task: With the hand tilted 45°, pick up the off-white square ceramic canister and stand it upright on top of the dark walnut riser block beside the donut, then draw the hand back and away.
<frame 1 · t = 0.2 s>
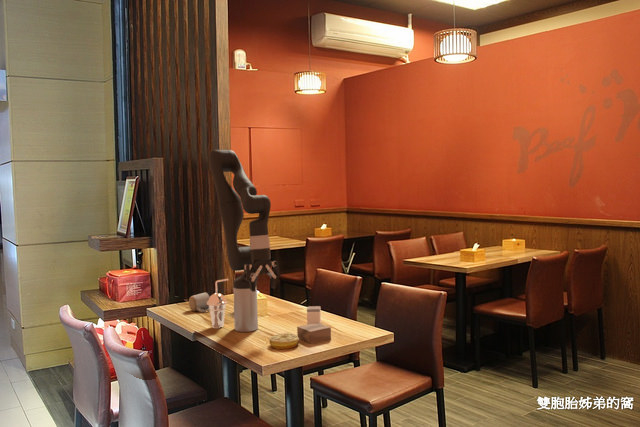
hand: (263, 289, 219), 18 cm above the table, tool pointing down, fingers open, 8 cm apart
cup with straw: (218, 327, 236), on the table
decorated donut: (284, 346, 208), on the table
canister: (314, 330, 227), on the table
ceramic mug: (201, 310, 267), on the table
walnut block: (314, 338, 215), on the table
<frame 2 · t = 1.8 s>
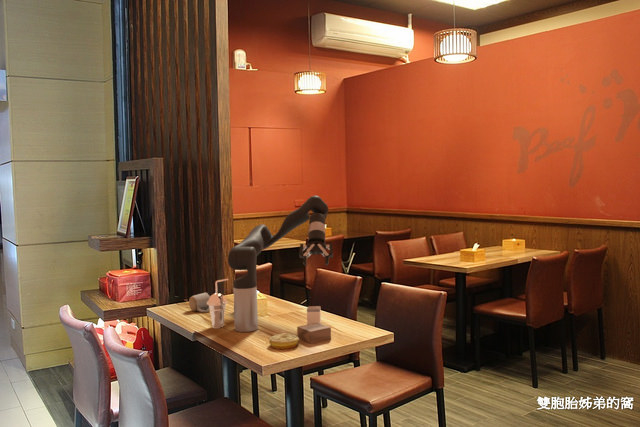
hand: (315, 264, 240), 24 cm above the table, tool tilted 45°, fingers open, 8 cm apart
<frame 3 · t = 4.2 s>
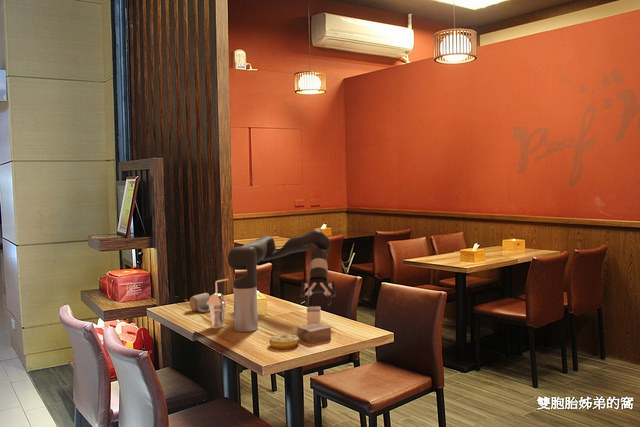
hand: (317, 305, 232), 9 cm above the table, tool tilted 45°, fingers open, 8 cm apart
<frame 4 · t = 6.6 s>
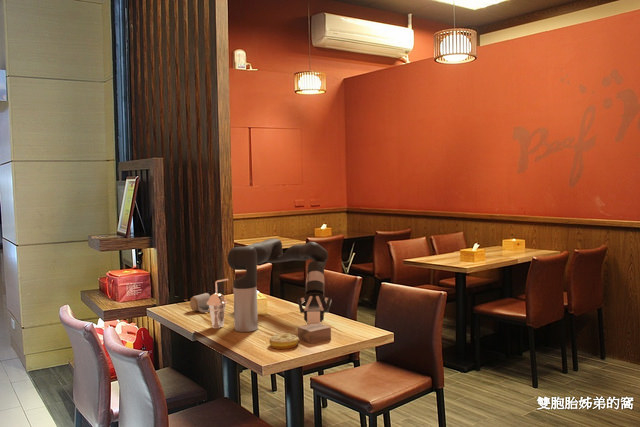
hand: (313, 320, 225), 4 cm above the table, tool tilted 45°, fingers closed on canister, 5 cm apart
canister: (314, 330, 227), on the table, touching gripper
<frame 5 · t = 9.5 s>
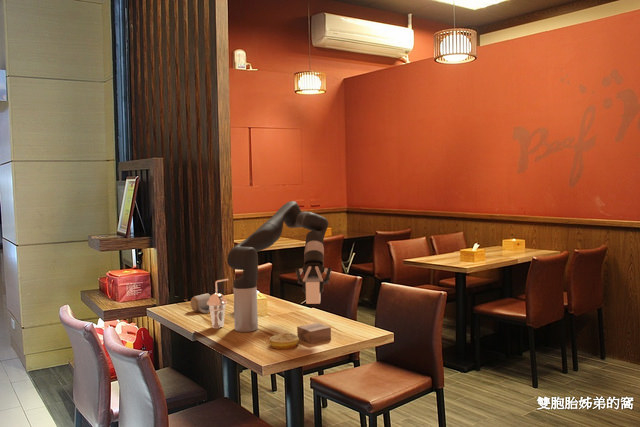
hand: (312, 291, 212), 18 cm above the table, tool tilted 45°, fingers closed on canister, 5 cm apart
canister: (313, 302, 214), point 14 cm above the table, touching gripper
when the fingers open (10 cm above the table, at t = 12.3 s): canister stays where it is, resting on walnut block.
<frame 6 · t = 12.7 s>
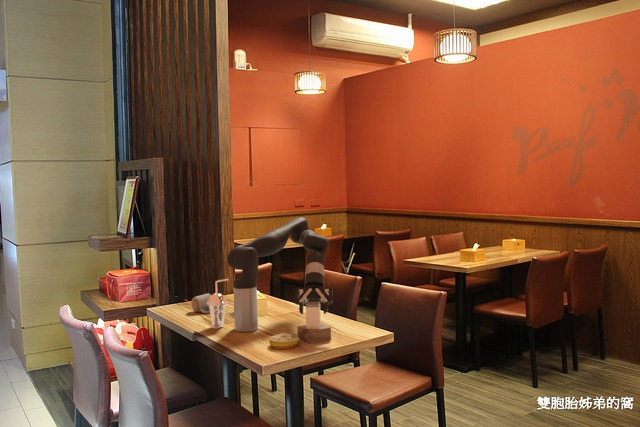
hand: (313, 312, 213), 10 cm above the table, tool tilted 45°, fingers open, 8 cm apart
canister: (313, 326, 215), point 4 cm above the table, touching walnut block
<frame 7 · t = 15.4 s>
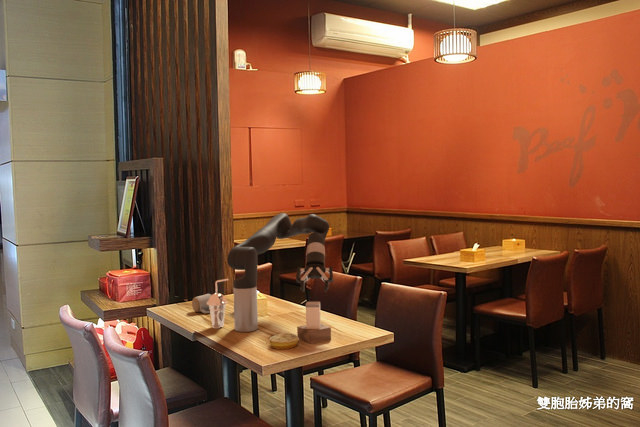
hand: (314, 290, 219), 17 cm above the table, tool tilted 45°, fingers open, 8 cm apart
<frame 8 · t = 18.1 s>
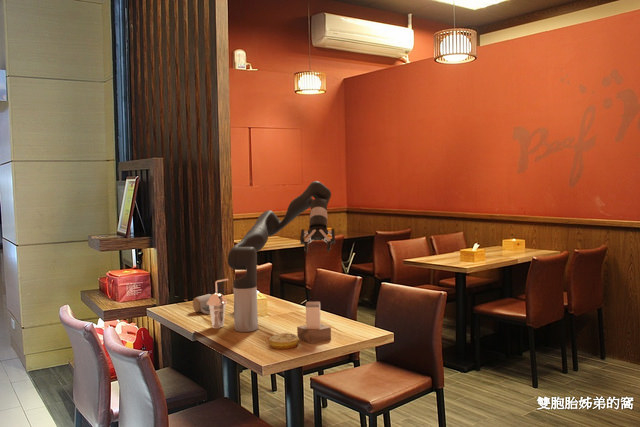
hand: (317, 250, 231), 31 cm above the table, tool tilted 45°, fingers open, 8 cm apart
at the end: canister 0.1 cm off-centre on the walnut block, point 4.5 cm above the walnut block's base; canister tilted 0°; the gripper is holding nothing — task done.
